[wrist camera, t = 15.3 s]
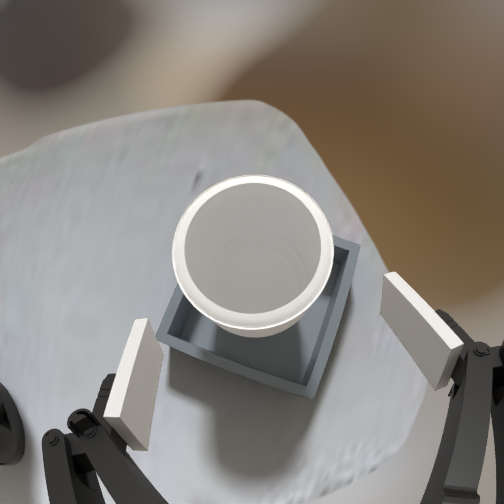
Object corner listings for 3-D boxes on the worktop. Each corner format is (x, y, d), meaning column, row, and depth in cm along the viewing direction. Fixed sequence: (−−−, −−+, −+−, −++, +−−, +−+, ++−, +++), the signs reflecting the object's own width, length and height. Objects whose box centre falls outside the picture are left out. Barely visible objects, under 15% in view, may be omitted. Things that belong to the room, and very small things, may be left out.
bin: (170, 342, 31) (154, 338, 27) (222, 219, 37) (216, 199, 32) (306, 393, 29) (313, 399, 24) (348, 260, 34) (360, 244, 29)
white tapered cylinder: (302, 346, 30) (333, 334, 16) (205, 338, 31) (158, 319, 17) (306, 252, 34) (332, 177, 20) (217, 246, 35) (187, 170, 21)
